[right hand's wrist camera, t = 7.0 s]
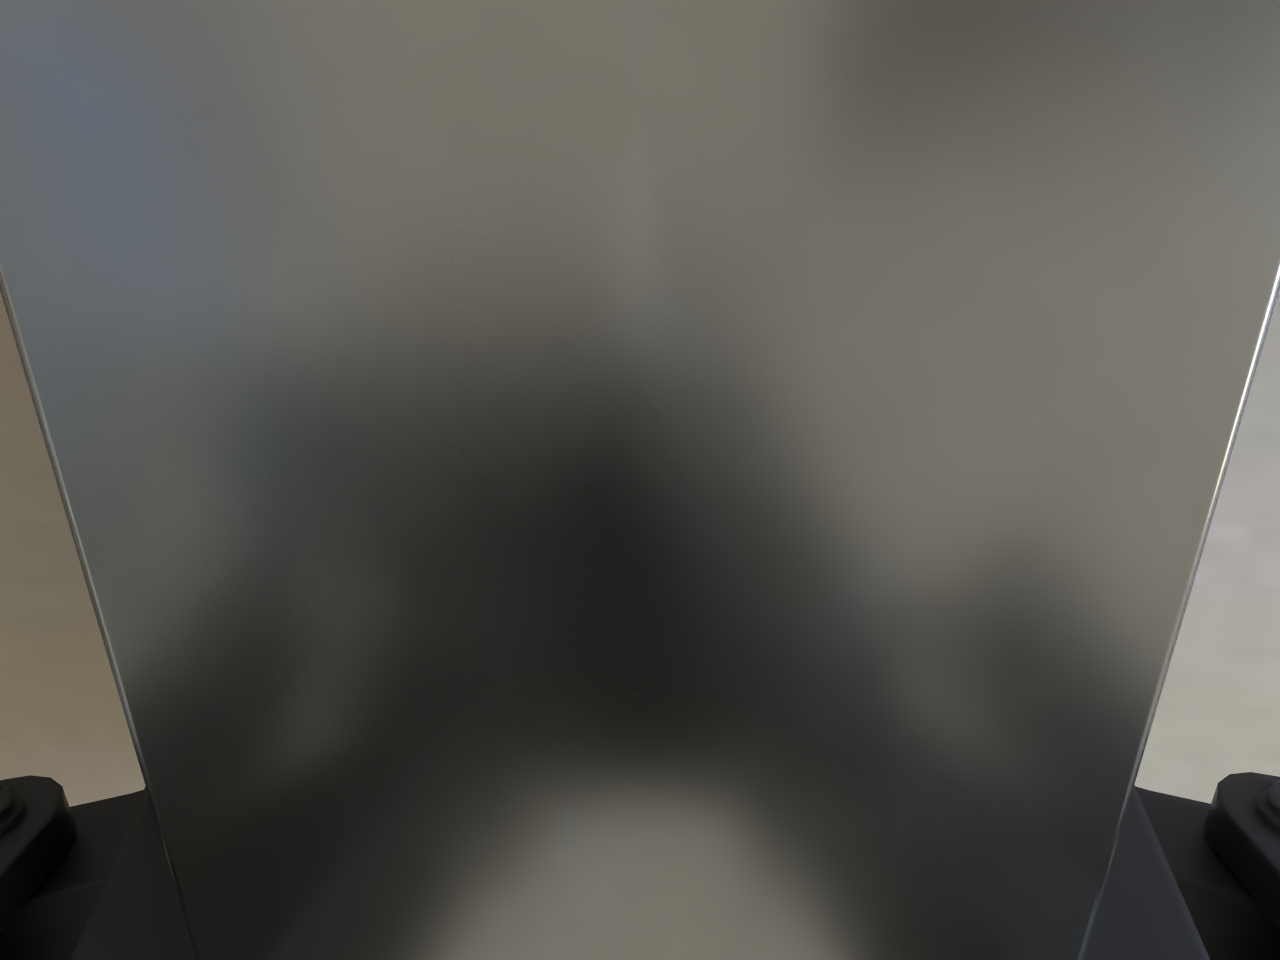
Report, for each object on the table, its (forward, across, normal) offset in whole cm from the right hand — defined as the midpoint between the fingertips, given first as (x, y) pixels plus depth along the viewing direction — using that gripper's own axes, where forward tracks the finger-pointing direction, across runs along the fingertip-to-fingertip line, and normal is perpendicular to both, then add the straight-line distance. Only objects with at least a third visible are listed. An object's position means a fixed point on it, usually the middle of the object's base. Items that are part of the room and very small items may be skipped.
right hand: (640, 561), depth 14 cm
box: (+1, 0, -7) cm, 7 cm away
